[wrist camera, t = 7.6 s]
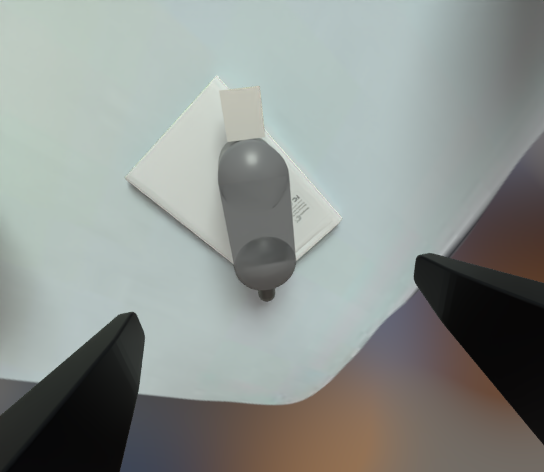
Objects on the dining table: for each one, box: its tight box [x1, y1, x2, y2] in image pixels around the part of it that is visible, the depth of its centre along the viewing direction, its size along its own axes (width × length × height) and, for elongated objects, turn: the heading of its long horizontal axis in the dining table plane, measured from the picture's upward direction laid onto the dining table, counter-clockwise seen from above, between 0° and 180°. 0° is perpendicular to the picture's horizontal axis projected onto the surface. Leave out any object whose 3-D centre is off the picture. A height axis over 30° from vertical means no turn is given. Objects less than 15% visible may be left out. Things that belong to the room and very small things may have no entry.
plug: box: [218, 86, 296, 302], centre depth 17 cm, size 14×4×4 cm, turn 6°
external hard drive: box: [125, 76, 342, 264], centre depth 20 cm, size 2×8×12 cm
